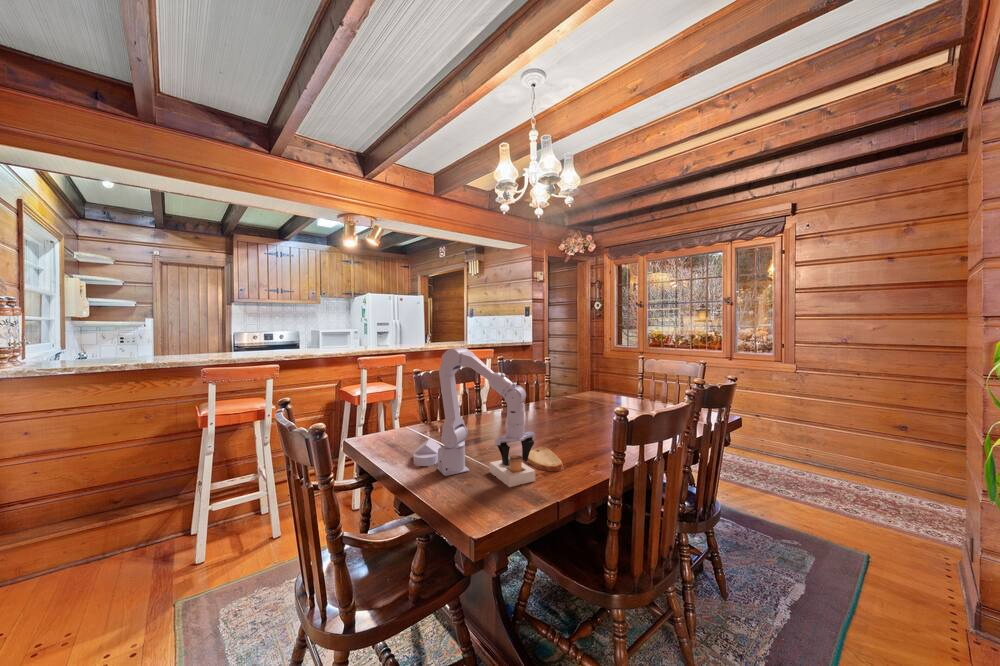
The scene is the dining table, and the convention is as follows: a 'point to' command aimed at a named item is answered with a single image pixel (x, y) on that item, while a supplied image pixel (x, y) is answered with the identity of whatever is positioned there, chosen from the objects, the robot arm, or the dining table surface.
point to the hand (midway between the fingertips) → (515, 462)
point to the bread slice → (544, 459)
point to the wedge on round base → (427, 453)
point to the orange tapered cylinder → (515, 463)
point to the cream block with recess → (512, 478)
